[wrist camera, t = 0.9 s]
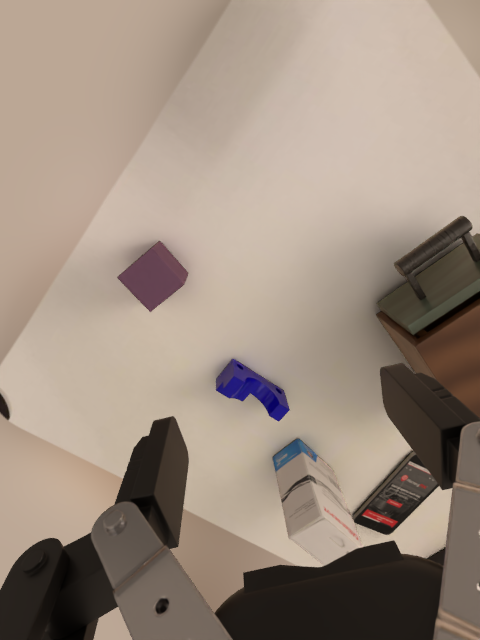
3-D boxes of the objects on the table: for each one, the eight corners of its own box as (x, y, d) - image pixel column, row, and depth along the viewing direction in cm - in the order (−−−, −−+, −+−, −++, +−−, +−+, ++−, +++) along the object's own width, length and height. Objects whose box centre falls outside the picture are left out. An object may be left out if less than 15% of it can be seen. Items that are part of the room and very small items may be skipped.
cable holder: (216, 379, 41) (215, 397, 38) (232, 358, 40) (234, 375, 37) (266, 409, 43) (270, 430, 40) (283, 390, 42) (289, 409, 39)
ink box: (270, 456, 46) (286, 539, 35) (298, 436, 45) (323, 515, 34) (308, 488, 49) (333, 575, 38) (335, 470, 48) (369, 554, 37)
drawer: (354, 270, 36) (382, 288, 30) (458, 195, 34) (512, 196, 28) (425, 376, 42) (461, 410, 35) (518, 318, 39) (575, 342, 33)
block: (128, 267, 36) (116, 277, 32) (159, 240, 35) (151, 247, 31) (158, 298, 37) (150, 312, 33) (188, 273, 36) (184, 284, 32)
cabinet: (375, 314, 39) (415, 346, 31) (482, 241, 37) (554, 255, 29) (426, 390, 44) (472, 435, 36) (525, 329, 41) (598, 362, 33)
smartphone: (351, 521, 51) (416, 452, 46) (350, 517, 51) (413, 448, 47) (388, 536, 52) (454, 470, 48) (386, 531, 53) (451, 466, 49)
